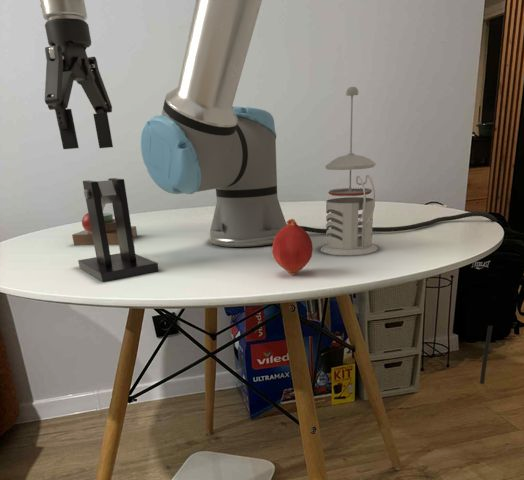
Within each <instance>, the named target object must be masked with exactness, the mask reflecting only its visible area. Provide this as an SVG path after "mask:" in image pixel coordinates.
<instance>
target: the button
mask: <svg viewBox="0 0 524 480" xmlns="http://www.w3.org/2000/svg"><path fill="white" fill-rule="evenodd" d="M103 215H104V221H105V223H109V222H113V219H114V214H113V213H111V212H109V213H108V212H107V213H103Z"/></svg>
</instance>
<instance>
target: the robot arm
mask: <svg viewBox="0 0 524 480" xmlns="http://www.w3.org/2000/svg"><path fill="white" fill-rule="evenodd" d="M39 1H40V3H39V6H40V9H41V12H42V18H43V19H44V20H45V21H46V22H45V23H44V28H45V34H46V38H47V43H48V45H49V46H45V48H44V53H45V59H46V67H45V82H44V83H45V84H44V85H45V88H44V102H45V104H46V105H47V109H48V110H50V111H54V112H55V117H56V121H57V126H58V130H59V135H60V140H61V143H62V144H61V146H62V150H74V149H79V148H80V147H79V142H78V136H77V132H76V127H75V122H74V117H73V112H72V108H68V107H69V103H70V98H71V93H72V90H73V85H74V82H76V83H77V85H80V86H81V88H82V90H83V92H84V93H85V95H86V98H87V99H88V101H89V103H90V105H91V107H92V108H93V110H94V112H95V113H93V121H94V124H95V125H94V126H95V132H96V137H97V143H98V148H99V149H109V148H114V145H113V139H112V135H111V134H112V133H111V127H110V121H109V115H108V114H109V113H112V112H113V106H112V102H111V100H110V97H109V95H108V91H107V89H106V86H105V83H104V80H103V78H102V75H101V73H100V70H99V65H98V60H97V58H96V56H88V54H87V48H89V47H91V46H92V38H91V33H90V27H89V24H88V22H87V21H86V20H87V19H88V14H87V7H86V1H85V0H39ZM262 2H263V0H195V3H194V8H193V12H192V13H193V14H192V18H191V23H190V27H189V31H188V32H189V33H188V36H187V42H186V46H185V51H184V56H183V61H182V64H181V65H182V66H181V70H180V75H179V79H178V85H177V87H176V88H174V89H171V90H170V91H169V92H167V93H166V94H165V97H164V102H163V107H162V111H161V115H154V116H153V117H151V118H150V119H149V120H147V121H146V122H145V124H144V125H143V128H142V130H141V134H140V151H141V156H142V161H143V164H144V166H145V167H146V170H147V173H148V174H149V176H150V178H151V179H152V181H153V182H154V183H155V184H156V186H157V187H159V189H161V190H163V191H164V192H166V193H168V194H172V195H183V194H184V195H193V194H195V193H199V192H204V191H210V190H215V195H216V203H215V206H214V207H215V208H214V212H213V217H212V221H211V226H210V232H209V236H210V238H209V239H210V243H211V244H213V245H215V246H219V247H228V248H250V247H253V248H254V247H262V246H263V247H264V246H270V245H273V241H274V239H275V237H276V235H277V233H278V232H279V231H280V230H281V229H282V228H284V227H285V226H286V225H287V221H286V219H285V215H284V213H283V210H282V207H281V204H280V201H279V198H278V176H277V175H278V173H277V169H278V168H277V144H276V140H277V133H276V128H275V127H276V126H275V119H274V116H273V115H272V114H271V112H269V111H267V110H265V109H262V108H257V107H250V106H247V107H243V106H233V105H234V101H235V98H236V94H237V91H238V87H239V83H240V80H241V77H242V73H243V70H244V66H245V62H246V59H247V55H248V51H249V48H250V44H251V41H252V37H253V34H254V30H255V27H256V24H257V19H258V17H259V12H260V9H261V5H262ZM470 217H482V218H486V219H488V220H489V221H490V222H493V223H499V220H498V219H497V218H496V216H494V215H492V214H490V213H489V212H485V211H469V212H463V213H458V214H454V215H447V216H441V217H440V216H439V217H436V218H433V219H430V220H427V221H426V220H425V221H422V222H418V223H413V224H408V225H399V226H372V229H371V230H372V233H392V232H405V231H411V230H416V229H420V228H424V227H428V226H432V225H435V224H438V223H441V222H442V223H443V222H449V221H450V222H451V221H455V220H460V219H465V218H470ZM299 226H300V227H301V228H303V229H304V230H305V231H306V232H307V233H308V232H309V233H313V234H326V232H327V230H328V229H326V228H317V227H311V226H306V225H305V226H304V225H299ZM361 228H362V226H358V229H361ZM493 327H494V325H487V331H486V336H485V344H484V349H483V356H482V364H481V370H480V379H479V380H480V381H479V384H481V385H484V384H485V379H486V372H487V364H488V358H489V352H490V346H491V340H492V332H493Z"/></svg>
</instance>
